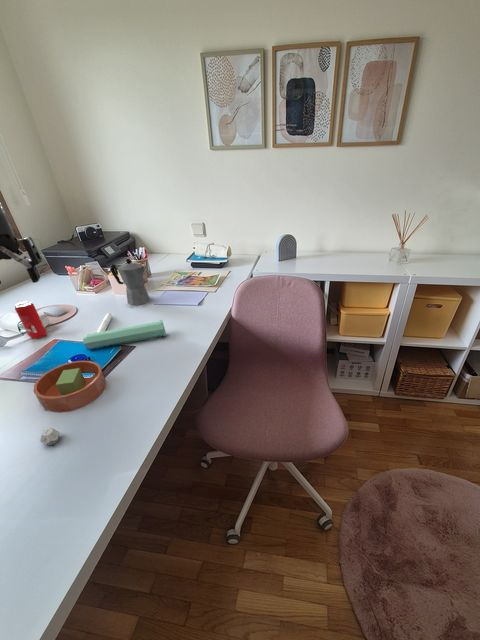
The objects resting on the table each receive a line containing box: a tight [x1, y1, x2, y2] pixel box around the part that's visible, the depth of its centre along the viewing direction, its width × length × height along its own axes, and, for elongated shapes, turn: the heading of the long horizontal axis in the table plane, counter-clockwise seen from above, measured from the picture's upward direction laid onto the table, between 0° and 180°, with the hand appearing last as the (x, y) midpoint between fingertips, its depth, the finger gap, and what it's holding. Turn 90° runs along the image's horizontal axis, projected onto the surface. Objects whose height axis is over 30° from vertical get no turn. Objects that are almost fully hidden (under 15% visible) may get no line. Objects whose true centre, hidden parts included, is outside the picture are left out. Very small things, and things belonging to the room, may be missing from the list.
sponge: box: [56, 368, 85, 396], centre depth 78 cm, size 4×6×4 cm, turn 13°
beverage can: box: [14, 300, 47, 340], centre depth 101 cm, size 5×5×12 cm
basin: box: [33, 360, 107, 413], centre depth 79 cm, size 15×15×4 cm
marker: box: [96, 312, 113, 333], centre depth 109 cm, size 18×2×2 cm, turn 11°
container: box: [82, 319, 167, 350], centre depth 99 cm, size 6×6×25 cm
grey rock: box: [39, 427, 60, 446], centre depth 65 cm, size 4×4×3 cm
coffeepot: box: [109, 258, 150, 306], centre depth 123 cm, size 15×9×18 cm, turn 82°
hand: (17, 283), depth 75 cm, fingers open, 8 cm apart
